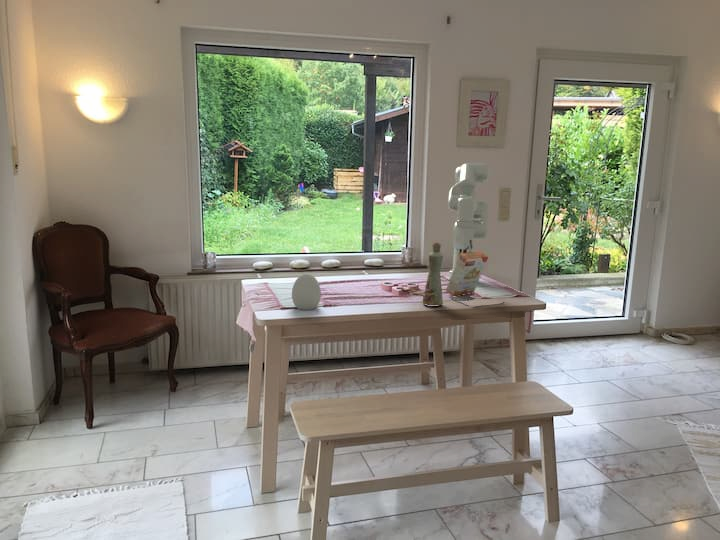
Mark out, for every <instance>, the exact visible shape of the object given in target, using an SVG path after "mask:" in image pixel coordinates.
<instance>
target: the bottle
mask: <svg viewBox="0 0 720 540" xmlns="http://www.w3.org/2000/svg"><path fill="white" fill-rule="evenodd" d="M441 246H442V245H441V243H439V242H435V243H433V244H432V251H431V252H430V253H429V254H428V266H429V270H428V274H427V279H426V283H425V288H424V291H423V292H424V295H423V297H422V300H421V301H422V305H424V304H427V305H441V306H443V305H442V304H444V300H443V289H442V288H443V287H442V279H441V267H442V264H443V263H442V262H443V258H444V254H443V253H442V252H441Z"/></svg>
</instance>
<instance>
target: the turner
mask: <svg viewBox="0 0 720 540" xmlns="http://www.w3.org/2000/svg"><path fill="white" fill-rule="evenodd" d="M410 289H411V290H410V291H411V292H412V293H411V294H412V295H414V296H415V295H416V296H418V295H420V296H419V297H422V296H423V295H424V292H425V291H421V290H417V289H412V288H410Z"/></svg>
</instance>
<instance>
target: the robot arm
mask: <svg viewBox="0 0 720 540" xmlns="http://www.w3.org/2000/svg"><path fill="white" fill-rule="evenodd" d="M454 176H455V184H454V185H453V186H452V187H451V188H450V189H449V192H448V198H447V207H448V209H449V210H450V211H451V212H456V213H457V214H456V221H455V222H454V224H453V238H452V246H453V259H452V260H453V261H452V269H451V270H449V273H450V274H452V273H453V270H454V268H455V265H456V262H457V260H458V257H459V254H460V253H469V252H474V250H473V249H474V248H473V247H474V240H485V239H487V237H488V235H489V220H490V206H489V204H488V202H486V201H484V200H479V199H478V198H477V196H476V189H477V184H485V183H487V182H488V181H489V179H490V176H491V170H490V166H489V165H488V164H487V163H483V162H466V163H463V164H461V166H458V167H456V168H455V172H454ZM451 276H452V275H450V276H449V277H448V280H450V278H451Z"/></svg>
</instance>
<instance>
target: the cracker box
mask: <svg viewBox="0 0 720 540" xmlns="http://www.w3.org/2000/svg"><path fill="white" fill-rule="evenodd" d="M488 258H489V256H488V255H486V254H485V253H483V252H482V250H481V251H479V250H478V251H472V252H469V253H460V254H459V257H458V260H457V262H456V265H455V268H454V270H453V273H451V275H450V276H451V278H450V279H449V281H448V284H447V285H446V286H447V287H446V289H445V292H446V293H448V294H449V295H450V296H451V297H452V296H458V295H462V296H464V295H463V294H468V293H472V292H474V293H475V291H476V288H477V287H478V283H479V281H480V278H481V276H482V273H483V271H484V268H485V266H486V264H487V261H488ZM468 295H469V294H468Z"/></svg>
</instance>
